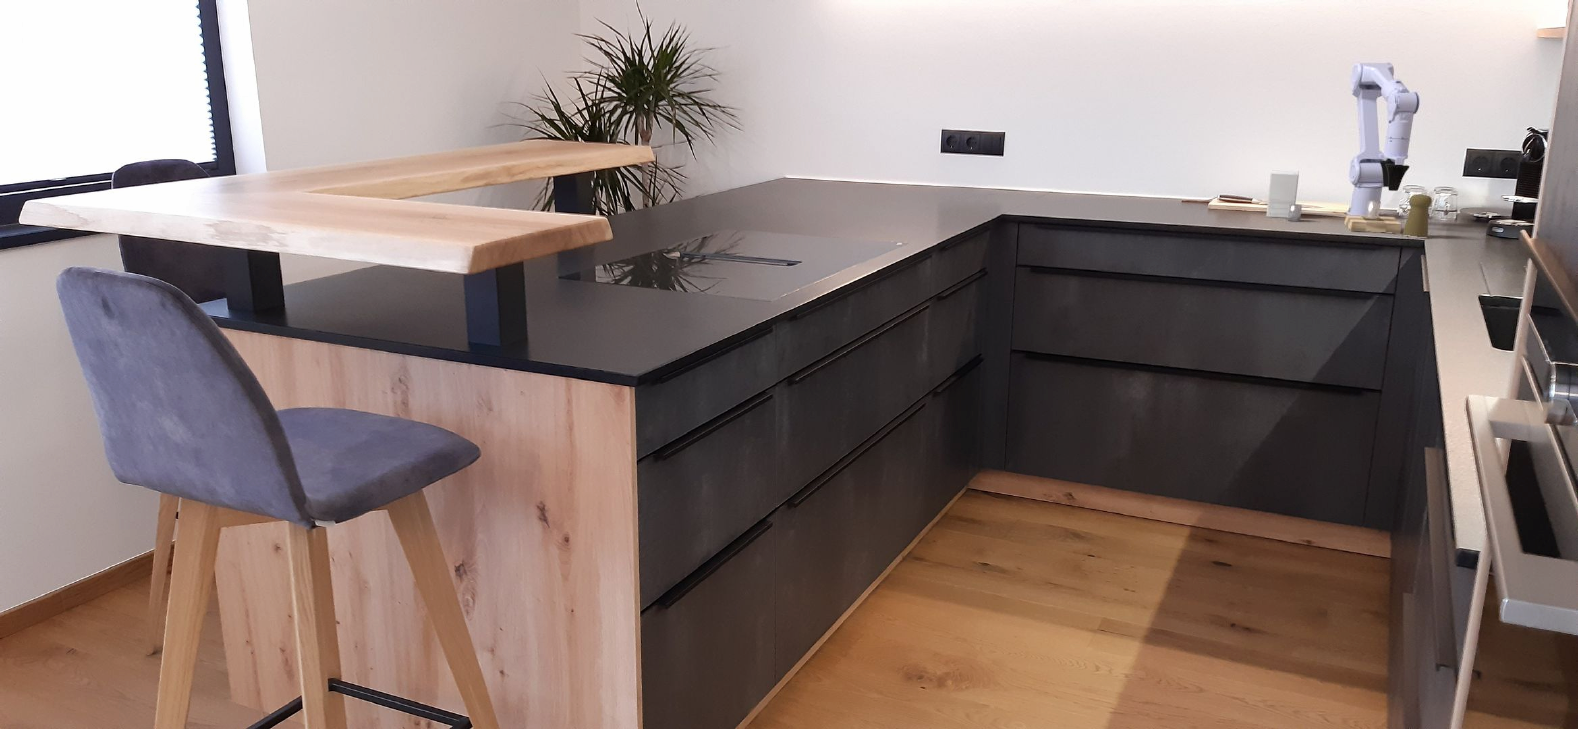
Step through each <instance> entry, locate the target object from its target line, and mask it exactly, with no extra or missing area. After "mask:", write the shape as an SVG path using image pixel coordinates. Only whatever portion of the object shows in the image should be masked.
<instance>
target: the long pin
mask: <svg viewBox="0 0 1578 729" xmlns="http://www.w3.org/2000/svg"><path fill="white" fill-rule="evenodd" d="M1381 203H1382V202H1381V200H1380V201H1373V200H1370V201H1368V203H1367V210H1366V217H1365V220H1368V221H1378V218H1379V216H1380V209H1381V205H1382V204H1381Z"/></svg>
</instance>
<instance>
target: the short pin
mask: <svg viewBox="0 0 1578 729" xmlns="http://www.w3.org/2000/svg"><path fill="white" fill-rule="evenodd" d="M1302 207H1303V205H1302V204H1297V203H1295V204H1290V206H1289V213H1288V218H1287V222H1291V223H1299V222H1301V214H1302Z"/></svg>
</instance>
